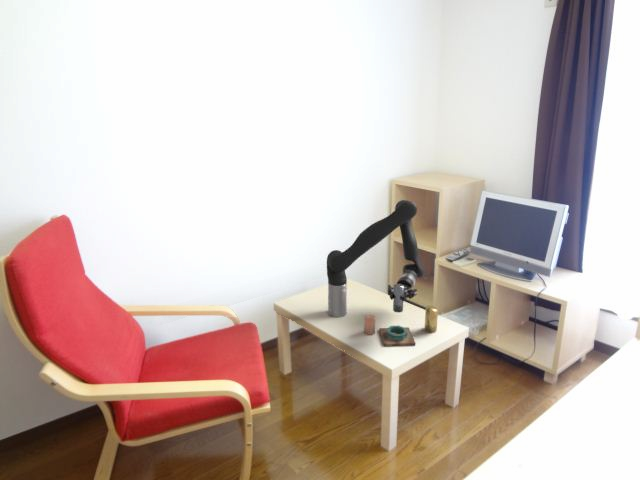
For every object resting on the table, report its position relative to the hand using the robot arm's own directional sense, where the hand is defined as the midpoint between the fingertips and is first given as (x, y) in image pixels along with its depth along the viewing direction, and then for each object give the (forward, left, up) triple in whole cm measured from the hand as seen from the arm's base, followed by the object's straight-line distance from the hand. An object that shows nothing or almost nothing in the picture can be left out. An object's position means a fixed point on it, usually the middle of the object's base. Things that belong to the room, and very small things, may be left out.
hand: (397, 298), depth 197 cm
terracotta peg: (-11, +8, -21) cm, 25 cm away
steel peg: (+1, +2, -7) cm, 8 cm away
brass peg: (+18, +9, -21) cm, 29 cm away
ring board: (+1, +2, -21) cm, 21 cm away
